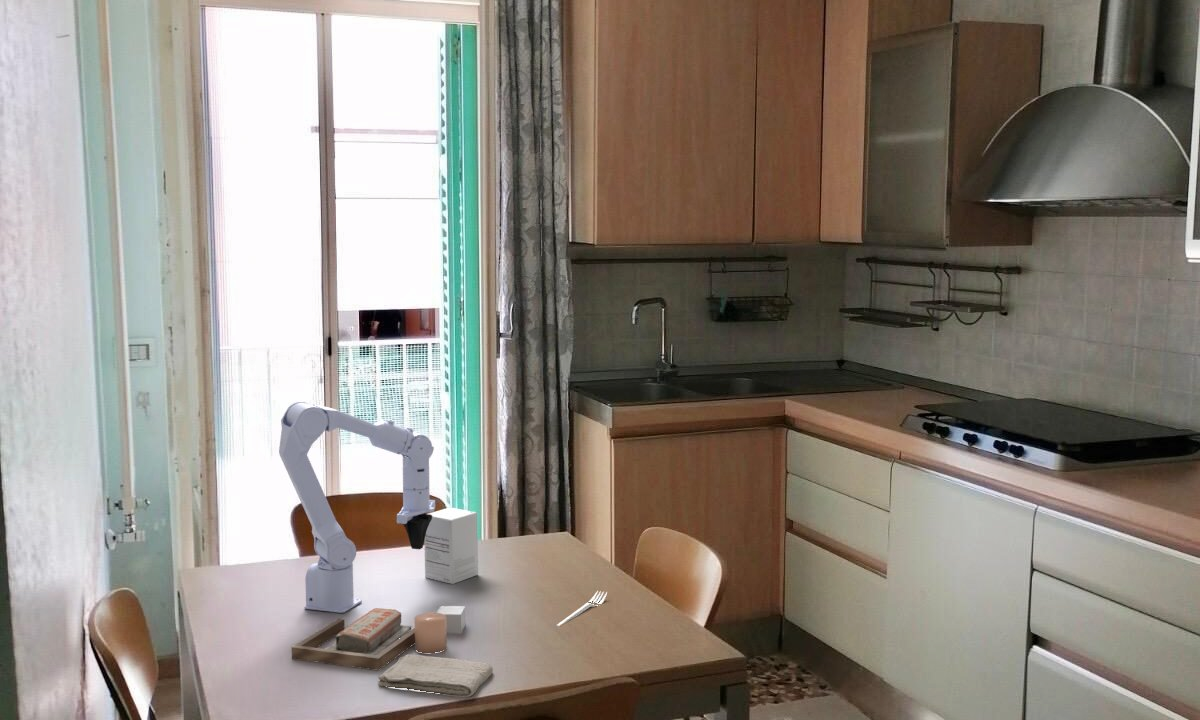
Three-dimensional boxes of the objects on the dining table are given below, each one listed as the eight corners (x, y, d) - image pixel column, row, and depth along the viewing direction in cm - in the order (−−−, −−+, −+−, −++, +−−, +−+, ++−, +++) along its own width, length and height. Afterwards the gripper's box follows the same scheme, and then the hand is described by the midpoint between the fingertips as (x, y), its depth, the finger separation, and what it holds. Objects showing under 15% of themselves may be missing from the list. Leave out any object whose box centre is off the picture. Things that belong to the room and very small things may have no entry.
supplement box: (450, 568, 266) (450, 506, 264) (479, 575, 261) (478, 511, 259) (423, 577, 258) (422, 513, 257) (452, 584, 253) (451, 519, 252)
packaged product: (365, 604, 226) (411, 608, 224) (366, 627, 227) (411, 632, 224) (321, 634, 209) (370, 639, 206) (322, 659, 209) (371, 664, 207)
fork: (550, 628, 227) (550, 619, 227) (596, 598, 245) (595, 590, 245) (564, 630, 226) (564, 621, 226) (609, 600, 243) (609, 592, 243)
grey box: (436, 633, 222) (435, 614, 222) (440, 625, 227) (440, 605, 227) (461, 634, 222) (461, 614, 222) (465, 625, 227) (465, 606, 227)
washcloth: (402, 665, 206) (402, 649, 206) (495, 675, 202) (495, 658, 202) (374, 691, 195) (374, 673, 195) (472, 701, 191) (472, 683, 190)
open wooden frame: (291, 658, 208) (291, 647, 208) (339, 629, 224) (338, 618, 224) (378, 670, 203) (378, 658, 203) (420, 639, 219) (420, 628, 218)
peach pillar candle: (409, 652, 212) (408, 621, 211) (423, 641, 218) (423, 611, 217) (438, 655, 210) (437, 624, 210) (452, 644, 216) (451, 614, 215)
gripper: (417, 495, 237) (418, 558, 239) (447, 481, 251) (448, 541, 252) (387, 493, 239) (388, 555, 241) (418, 479, 253) (419, 538, 255)
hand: (417, 548), depth 247 cm, fingers closed
